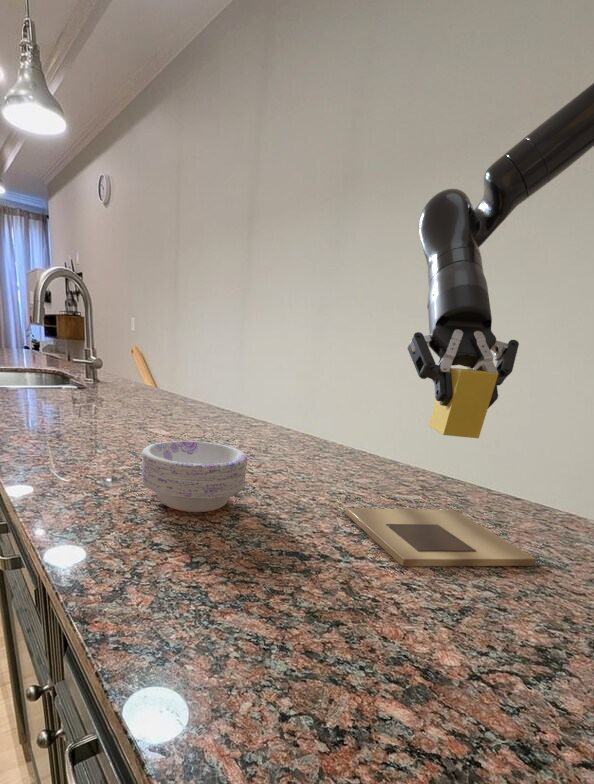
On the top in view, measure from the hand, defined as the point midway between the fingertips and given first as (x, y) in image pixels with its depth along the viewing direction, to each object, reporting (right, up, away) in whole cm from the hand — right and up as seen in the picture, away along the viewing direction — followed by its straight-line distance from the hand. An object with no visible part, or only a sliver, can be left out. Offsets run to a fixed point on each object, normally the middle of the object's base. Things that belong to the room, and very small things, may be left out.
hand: (467, 403), depth 57 cm
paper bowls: (-36, -13, +11) cm, 39 cm away
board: (-2, -17, +5) cm, 18 cm away
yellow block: (0, -3, +3) cm, 5 cm away
